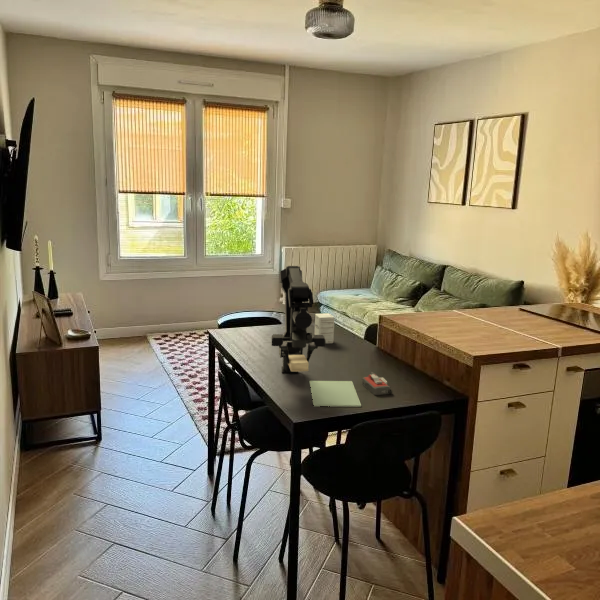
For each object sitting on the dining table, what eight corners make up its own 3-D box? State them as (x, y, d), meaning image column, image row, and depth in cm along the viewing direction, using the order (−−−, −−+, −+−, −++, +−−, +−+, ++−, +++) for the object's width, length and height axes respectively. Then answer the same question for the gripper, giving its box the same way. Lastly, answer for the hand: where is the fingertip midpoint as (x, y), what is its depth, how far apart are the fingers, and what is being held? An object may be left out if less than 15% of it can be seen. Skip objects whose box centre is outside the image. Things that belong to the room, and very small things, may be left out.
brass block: (287, 363, 194) (287, 355, 193) (303, 362, 195) (303, 354, 194) (291, 371, 185) (291, 363, 185) (308, 371, 186) (308, 362, 186)
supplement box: (313, 339, 254) (314, 313, 251) (328, 338, 256) (329, 313, 253) (318, 344, 247) (319, 317, 244) (333, 343, 249) (334, 316, 246)
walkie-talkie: (397, 395, 191) (373, 375, 210) (398, 383, 190) (374, 365, 209) (375, 397, 189) (353, 377, 207) (375, 385, 188) (353, 366, 206)
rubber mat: (309, 382, 200) (309, 380, 200) (352, 382, 201) (352, 381, 201) (313, 406, 179) (313, 405, 179) (361, 406, 180) (361, 405, 179)
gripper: (271, 326, 178) (271, 371, 182) (327, 327, 179) (326, 371, 182) (272, 318, 189) (271, 360, 192) (324, 319, 190) (323, 361, 193)
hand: (297, 363), depth 190 cm, fingers closed on brass block, 6 cm apart
